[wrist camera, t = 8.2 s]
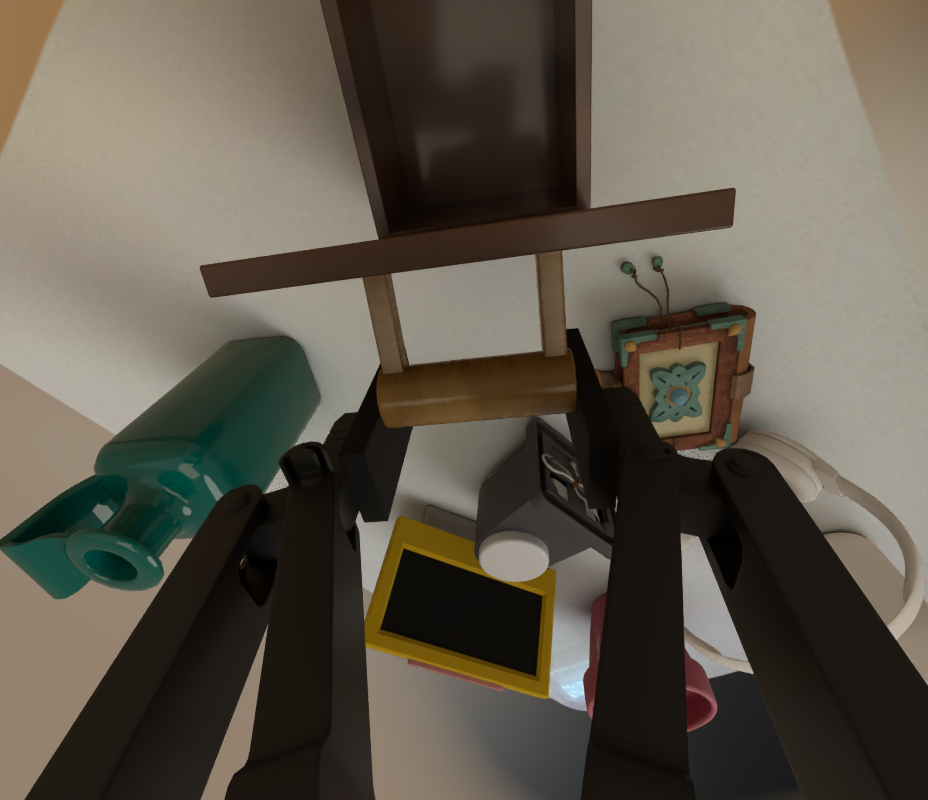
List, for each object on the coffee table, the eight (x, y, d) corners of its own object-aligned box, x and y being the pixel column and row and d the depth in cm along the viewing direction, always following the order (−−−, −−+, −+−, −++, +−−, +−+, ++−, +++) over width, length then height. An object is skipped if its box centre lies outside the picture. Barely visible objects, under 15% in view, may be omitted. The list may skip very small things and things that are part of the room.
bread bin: (347, -58, 26) (288, -128, 18) (563, -110, 24) (594, -211, 17) (405, 220, 34) (380, 248, 27) (568, 195, 32) (590, 218, 25)
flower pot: (574, 637, 65) (590, 739, 54) (568, 580, 58) (584, 686, 47) (675, 632, 63) (712, 738, 52) (681, 573, 55) (725, 682, 45)
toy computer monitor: (553, 547, 54) (572, 685, 41) (522, 580, 58) (530, 715, 45) (405, 492, 50) (373, 624, 37) (383, 531, 54) (347, 663, 41)
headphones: (608, 481, 48) (670, 677, 31) (785, 396, 40) (989, 591, 24) (639, 517, 50) (711, 716, 34) (809, 444, 43) (1007, 649, 27)
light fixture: (455, 475, 49) (442, 558, 40) (540, 408, 43) (547, 491, 34) (523, 521, 53) (525, 607, 44) (611, 465, 46) (634, 554, 37)
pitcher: (299, 332, 40) (131, 516, 21) (327, 407, 44) (208, 613, 26) (202, 342, 41) (-35, 525, 23) (239, 415, 46) (66, 616, 27)
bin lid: (197, 265, 11) (266, 467, 13) (736, 187, 9) (716, 432, 11) (377, 243, 26) (395, 337, 28) (591, 212, 24) (594, 314, 26)
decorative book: (751, 237, 33) (789, 254, 29) (727, 420, 42) (752, 453, 38) (574, 271, 35) (585, 291, 31) (588, 438, 44) (597, 472, 40)
